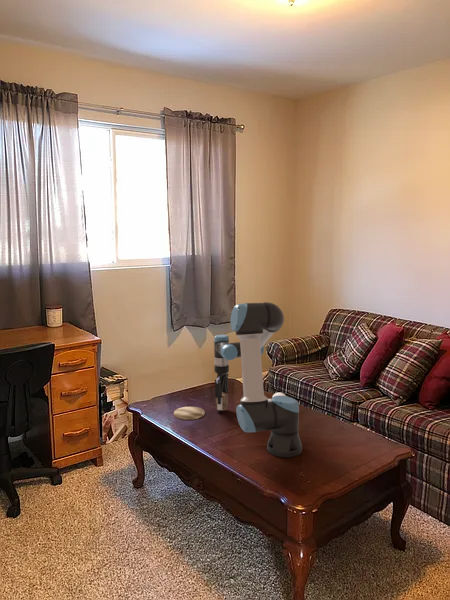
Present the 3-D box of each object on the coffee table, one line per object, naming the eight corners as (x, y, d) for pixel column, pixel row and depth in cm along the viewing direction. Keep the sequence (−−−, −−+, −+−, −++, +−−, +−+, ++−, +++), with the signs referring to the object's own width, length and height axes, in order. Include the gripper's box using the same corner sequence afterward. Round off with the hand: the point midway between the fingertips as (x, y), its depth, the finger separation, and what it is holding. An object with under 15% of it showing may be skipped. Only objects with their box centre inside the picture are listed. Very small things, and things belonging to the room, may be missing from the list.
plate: (197, 421, 244) (197, 420, 244) (168, 417, 249) (168, 415, 249) (209, 410, 258) (209, 408, 258) (182, 406, 264) (182, 404, 264)
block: (224, 410, 254) (224, 395, 253) (215, 409, 256) (215, 394, 255) (228, 407, 259) (228, 392, 258) (219, 406, 261) (219, 391, 260)
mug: (286, 406, 264) (287, 392, 263) (287, 413, 254) (287, 398, 253) (264, 405, 265) (264, 391, 264) (264, 412, 256) (264, 398, 254)
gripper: (222, 369, 245) (222, 414, 248) (234, 361, 261) (234, 403, 264) (208, 368, 247) (208, 412, 250) (221, 359, 264) (221, 401, 267)
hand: (221, 407), depth 257 cm, fingers closed on block, 5 cm apart
